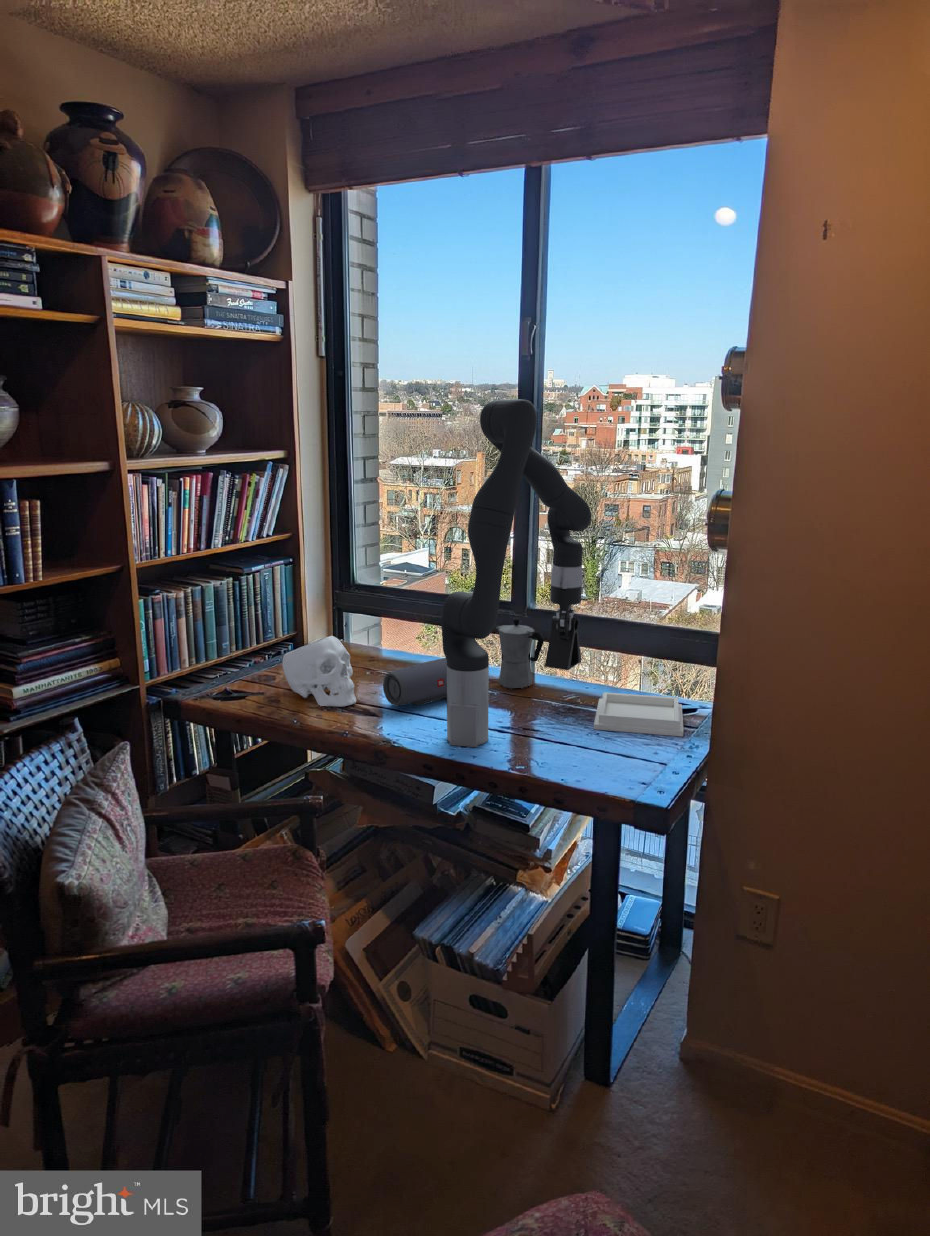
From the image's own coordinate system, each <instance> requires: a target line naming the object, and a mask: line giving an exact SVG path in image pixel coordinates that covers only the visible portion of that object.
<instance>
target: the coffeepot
mask: <svg viewBox="0 0 930 1236" xmlns="http://www.w3.org/2000/svg"><path fill="white" fill-rule="evenodd" d="M495 628H496V629H497V630H498V637H499V643H500V650H501V654H502V655H503V656H502V657H503V659H502V662H501V667H500V670H499V678H498V684H499V685H500V686H501V685H502V686H501V687H503V688H506V689H507V688H508V689H512V688H514V689H515V688H521V689H524V688H523V687H526V688H528V687H527V686H529V687H531V686H530V684H531V685H533V676H532V668H531V662H530V661H532V662H537V661H538V660H539V657H540V654H541V650H542V648H543V646H544V642H545V638H544V636H543V635H542V633H541V632H540V631H539V630H535V628H532V627H530V626H528V625H523V624H522V625H521V624H520V618H518V617H516V618H513V624H511V625H510V624H509V625H508V624H507V625H498V626H496V627H495ZM533 639H536V640H537V642H536V647H535V650H534V653H533V657H531V656H530V657H529V655H530V653H531V649H532V643H533ZM514 689H513V690H514Z"/></svg>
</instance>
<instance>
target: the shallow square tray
mask: <svg viewBox="0 0 930 1236" xmlns="http://www.w3.org/2000/svg"><path fill="white" fill-rule="evenodd" d="M596 707H597V708H596V712H595V716H594V721H593V722H594V723H593V730H597V731H611V732H623V733H634V734H635V733H636V734H646V735H648V734H649V735H661V736H671V737H673V736H674V737H684V720H683V704H681V703H679V697H673V696H672V697H671V696H658V695H645V694H643V695H642V694H630V693H618V692H615V693H614V692H605V691H604V692H603V693H602V697H600V698H599V699H598V704H597V706H596Z"/></svg>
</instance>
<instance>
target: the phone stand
mask: <svg viewBox="0 0 930 1236" xmlns="http://www.w3.org/2000/svg"><path fill="white" fill-rule="evenodd" d="M579 622H580V621H579V619H578V618H576V617H575V618H574V617H573V618H572V619H571V629H570V630H569V634H568V639H566V641H565V642H562V644H560V639H558V638H557V617H556V615H554V616H552V618H551V623H550V624H551V627H550V628H551V629H550V635H549V641H548V647H547V651H546V657H545V664H544V667H546V668H551V669H557V670H563V671H569V670H571V669H572V668H574V667H575V666H577V665H579V664H581V662H582V653H581V652H582V651H581V645H580V643H581V642H580V633H579V626H580V625H579ZM568 626H569V623H568ZM561 633H562V634H565V632H561Z"/></svg>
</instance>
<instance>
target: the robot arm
mask: <svg viewBox="0 0 930 1236" xmlns="http://www.w3.org/2000/svg"><path fill="white" fill-rule="evenodd" d="M479 415H480V416H479V424H480V428H481V431H482V433H483V435H484V436H485V438H486V439H487V440H488V441H489V442H490V444H492V446H494V447H495V448H496V449H497V450H498V451H499V452H500V455H499V458H498V460H497V463H496V466H495V467H494V469H493V471H492V472H491V474H490V475H489V476H488V477H487V479H485V481H484V483H483V484H482V485H481V487H480V488H479V490H478V491H477V493H476V495H475V496H474V498H473V501H472V505H471V510H470V515H469V519H468V524H467V537H468V542H469V546H470V549H471V552H472V556H473V560H474V563H475V564H474V565H475V578H474V579H475V581H474V587H473V591H472V593H469V592H467V591H466V592H465V591H454V592H451V593H450V594H449V595H448V596H447V597H446V599H445V600H444V602H443V605H442V609H441V618H440V620H441V637H442V651H443V654H444V658H446V660H447V697H446V739H447V741H448V742H449V745H450V746H456V747H457V746H459V747H469V748H470V747H471V748H477V747H478V746H481V745H482V744H485V743H487V742H488V741H489V699H490V698H489V696H490V695H489V685H490V684H489V678H490V677H489V675H490V670H489V669H490V668H489V667H490V665H489V663H490V657H489V654H488V651H486V649H485V648H483V647H482V645H480V644H479V643H478V641H477V640H483V639H486V638H488V637H489V635H491V633H492V632H493V630H494V628H495V625H496V623H497V619H498V614H499V606H500V598H501V588H502V579H503V573H504V566H505V561H506V556H507V550H508V549H507V548H508V544H509V539H510V536H511V531H512V527H513V522H514V519H515V518H514V517H515V512H516V505H517V500H518V496H519V491H520V488H521V483H522V479H523V478H524V479H525V480H526V482H527V483H528V484H529V485H530V487H531V488H532V490H533V491H534V493H535V494H536V496H537V498H539V500H540V501H541V502H542V504H543V505H544V506H545V507H548V510H547V514H546V515H547V516H546V519H547V526H548V530H549V535H550V539H551V543H552V567H551V572H550V574H551V576H550V596H549V597H550V598H549V599H550V602H551V603H552V604H555V605H559V608H557V610H556V613H555V616H556V617H557V638H558V639H560V644H562V642H565V641H566V639H568V634H569V630H570V629H571V619H572V618H574V614H575V609H574V608H572V606H576V605H579V604H581V603H582V594H583V593H582V592H583V589H582V588H583V566H582V565H583V545H582V543H581V542H580V541H578V540H576V539H574V538H573V537H572V536H571V533H570V532H583V531H585V530H586V529H588V528H589V527H590V524H591V522H592V511H591V508H590V506H589V505H588V503H587V502H586V500H585V499H584V498H582V497H581V496H580V495H579V494H578V493H577V492H576V491H575V490H574V489H572V488H571V487H570V486H569V485H568V484H567V482H566V480H565V479H564V477H563V476H562V475H561V473H560V471H559V470H558V469H557V467H556V466H555V465H554V464H553V463H552V462H551V460H549V459H547V458H546V457H545V456H544V455H542V454H541V453H540V452H538V451H537V450H536V449H535V448H533V447H532V444H533V441H534V438H535V434H536V428H537V422H538V418H537V410H536V408H535V406H534V404H533V403H532V402H531V401H530V400H527V399H514V398H513V399H511V398H510V399H508V398H507V399H495V400H490V401H488V402H487V403H486V404H485V405H484V406H483V408H482V410H481V412H480V414H479ZM568 623H569V626H568ZM561 632H565V634H562V633H561Z"/></svg>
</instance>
